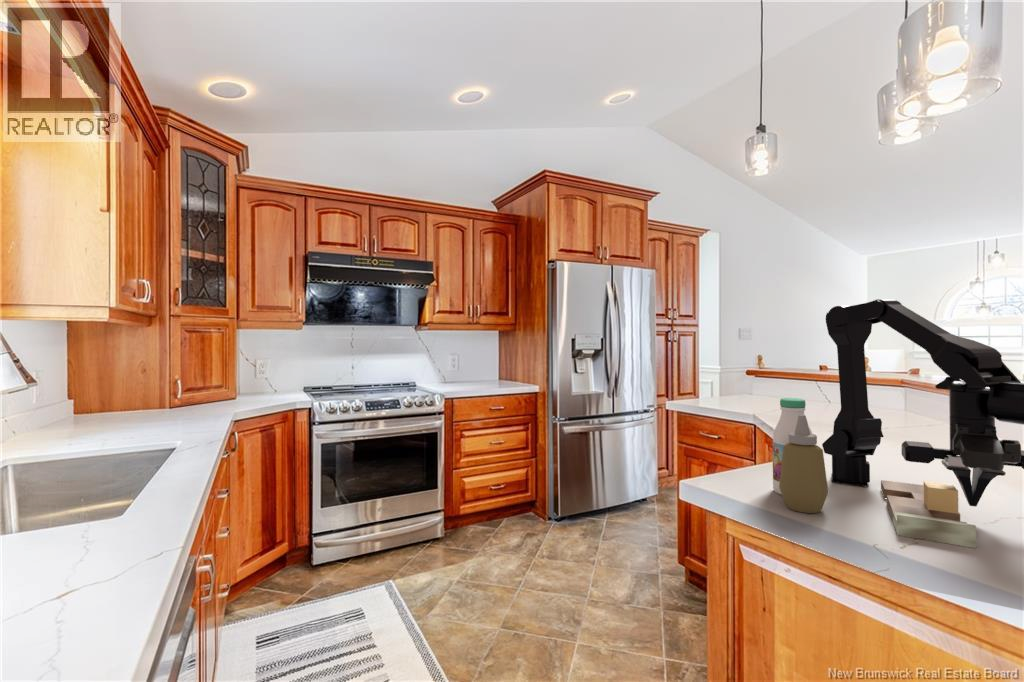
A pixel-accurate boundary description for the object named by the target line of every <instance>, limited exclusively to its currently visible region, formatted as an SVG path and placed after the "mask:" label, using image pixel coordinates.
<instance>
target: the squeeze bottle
mask: <svg viewBox="0 0 1024 682" xmlns="http://www.w3.org/2000/svg"><path fill="white" fill-rule="evenodd" d="M808 425H809V423H808V419H807V416H806V414H804V415H799V416H798V420H797V424H796V428H795V432H791V433H789V434H788V435H789V442H790V443H787V444H786V445H784V446H783V454H782V464H781V474H780V484H779V488H780V490H781V493H782V495H781V497H782V498H783V501H784V504H785V507H787V508H788V509H790V510H793V511H796V512H800V513H807V514H815V513H816V514H817V513H821V512H822V511H823V508H824V505H825V503H826V500H827V497H828V494H829V487H828V481H827V471H826V464H825V458H824V456H825V455H824V449H823V448H821V447H820V446H819V445H817V444H818V436H817V435H816V434H814V433H812V434H811V433H810V430H809V427H810V426H808Z"/></svg>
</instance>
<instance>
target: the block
mask: <svg viewBox="0 0 1024 682" xmlns="http://www.w3.org/2000/svg"><path fill="white" fill-rule="evenodd" d="M923 485H924V504H925V505H926V507H927V509H928V510H935V511H942V512H949V513H956V514H958V512H959V490H958V489H957V488H956V486H955V485H954V484H951V483H943V482H942V483H941V482H936V481H935V482H934V481H933V482H932V481H925V480H923Z"/></svg>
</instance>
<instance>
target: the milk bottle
mask: <svg viewBox="0 0 1024 682" xmlns="http://www.w3.org/2000/svg"><path fill="white" fill-rule="evenodd" d="M779 405H780V410H781V414H780V417H779V420H778V422H777V423H776V426H775V428H774V431H773V436H772V486H773V487H772V489H773V492H775V493H776V494H778V495H780V496H782V493H781V490H780V488H779V484H780V474H781V464H782V454H783V446H784V445H786V444H787V443H790V442H789V435H788V434H789V433H791V432H795V428H796V424H797V420H798V416H799V415H805V411H806V400H805V399H802V398H797V397H795V398H794V397H787V398H785V397H783V398H780V400H779ZM808 426H809V424H808ZM809 430H810V433H811V434H813V431H812V429H811V428H810V426H809Z"/></svg>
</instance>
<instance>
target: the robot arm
mask: <svg viewBox="0 0 1024 682" xmlns="http://www.w3.org/2000/svg"><path fill="white" fill-rule="evenodd" d="M825 323H826V324H825V325H826V328H827V332H828V333H827V334H828V335H829V337H830V338H831V340H832V341H833V343H834V344H835V345H836V350H837V353H836V354H837V363H838V365H837V367H838V368H837V369H838V382H839V395H840V396H839V397H840V410H839V413H838V414H837V416H836V418H835V419H834V420H833V430H832V432H833V433H832V434H831V435H830V436H829V437H828V438H827V439H826V440H825V441H824V442H823V443H822V445H821V447H822V450H823V454H825V455H830V456H831V483H834V484H841V485H848V486H849V485H850V486H857V487H864V488H865V487H866V488H868V487H869V485H868V483H869V484H870V482H871V471H870V470H871V468H870V467H871V465H870V462H869V461H868V460H867V456H874V454H875V451H876V449H877V447H878V446H880V444H881V440H882V438H884V434H883V431H882V426H883V425H882V424H883V421H882V418H879V417H878V418H876V417H875V416H874V415H873V414H872V413H871V411H870V409H869V399H868V397H869V396H868V385H867V384H868V382H867V369H866V353H865V344H866V342H867V340H868V338H869V337H870V335H871V333H872V326H873V325H874V324H880V323H883V324H884V325H886V326H888V327H889V328H891V329H893V330H894V331H896V332H897V333H899V335H902V336H903V337H905V338H906V339H908V340H909V341H911V342H913V343H914V344H916V345H917V346H918V347H920V348H922V349H923V350H924V351H926V352H927V353H928V354H929V355H930V356H929V357H931V358H930V359H932V362H933V363H934V364H935V365H936V366H937V367H938V368H939V369H940V370H941V371H942V372H943V373H944V374H945V375H947V376H946V377H945V378H944V379H943V380H942V381H940V382H939V383H937V384H935V386H934V387H935V389H937V390H945V391H948V393H949V395H948V397H949V401H948V403H949V404H948V405H949V406H948V407H949V448H938V447H933V446H932V445H931V444H930V443H929V442H926V441H925V442H924V441H912V440H911V441H909V440H904V441H903V442H902V443H901V456H902V457H903V459H904V461H906V462H910V463H923V464H930V463H931V462H933V461H935V460H941V465H943V466H944V467H945V469H946V470H949V471H952V472H953V474H954V475H955V477H956V479H957V482H958V483H959V485H960V487H961V489H962V493H963V495H964V497H965V499H966V502H967V504H968V505H969V506H970V507H977V506H978V504H979V502H980V501H981V498H982V497H983V494H984V492H985V490H986V489H987V486H988V485H989V484H990V483H991V482H992V480H993V479H995V478H996V477H997V476H1000V477H1001V476H1003V477H1004V476H1006V471H1004V467H1005V466H1009V467H1011V466H1012V467H1021V469H1023V470H1024V450H1022V445H1021V443H1020V441H1019V440H1017V439H1016V440H1014V439H1001V440H999V438H998V436H997V427H996V420H997V421H999V422H1003V423H1010V424H1016V425H1017V424H1018V425H1024V382H1021V381H1020V380H1019V378H1017V376H1016V375H1015V374H1014V373H1013V372H1012V371H1011V369H1010V368H1009V367H1008V366H1007V365H1006V364H1005V363H1004V362H1003V359H1002V357H1003V356H1002V353H1000V351H998V350H997V349H996V348H994V347H992V346H989V345H986V344H984V343H983V342H979V341H976V340H973V339H970V338H967V337H963V336H959V335H956V334H953V333H950V332H949V331H947V330H945V329H943V328H942V327H940V326H939V325H937V324H935V323H933V322H932V321H930V320H928V319H927V318H925V317H924V316H921V315H920V314H919V313H917V312H915V311H913V310H911V309H910V308H908V307H906V306H905V305H903V304H902V302H900V301H898V300H896V299H893V298H892V299H891V298H890V299H886V298H885V299H884V298H883V299H879V298H878V299H874V300H871V301H869V302H865V303H858V304H853V305H836V306H833V307H832V308H830V310H829V311H828V312H826V315H825ZM970 468H971V469H972V470H971V469H970ZM971 471H972V478H971Z"/></svg>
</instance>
